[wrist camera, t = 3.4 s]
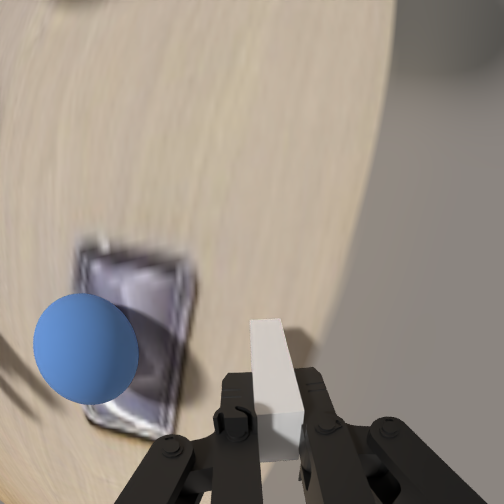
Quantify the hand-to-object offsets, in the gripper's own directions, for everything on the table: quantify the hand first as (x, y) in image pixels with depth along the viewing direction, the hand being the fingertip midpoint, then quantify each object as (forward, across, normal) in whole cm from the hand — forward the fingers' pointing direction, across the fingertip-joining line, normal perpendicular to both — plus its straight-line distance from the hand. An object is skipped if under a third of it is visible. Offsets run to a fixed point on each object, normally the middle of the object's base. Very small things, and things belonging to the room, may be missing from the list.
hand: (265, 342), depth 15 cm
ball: (-1, -10, 0) cm, 10 cm away
